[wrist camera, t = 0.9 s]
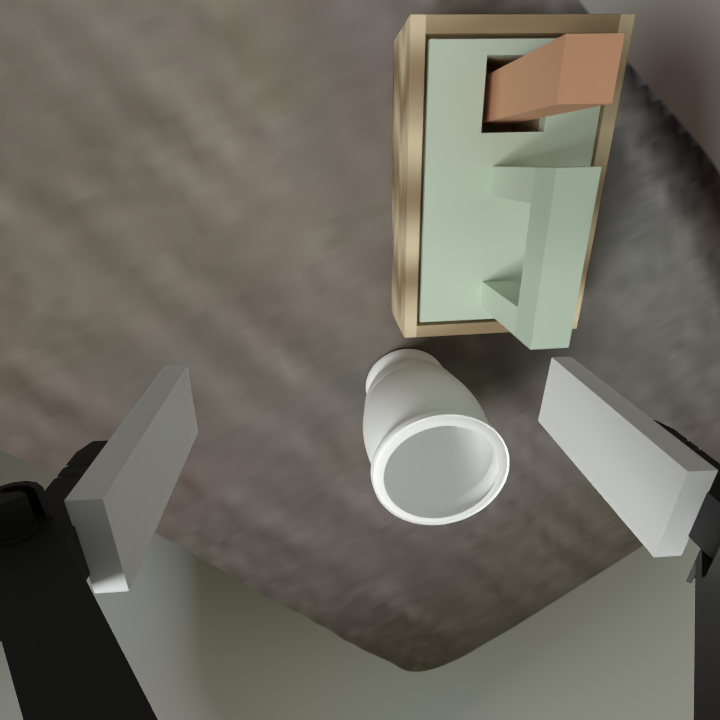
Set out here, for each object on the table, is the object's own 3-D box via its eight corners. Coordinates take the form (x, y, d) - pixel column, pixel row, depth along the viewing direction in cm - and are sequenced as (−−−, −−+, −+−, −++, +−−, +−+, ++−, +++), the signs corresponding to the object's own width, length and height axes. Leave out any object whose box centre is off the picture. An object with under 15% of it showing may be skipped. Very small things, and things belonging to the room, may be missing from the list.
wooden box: (393, 42, 34) (410, 14, 28) (578, 40, 36) (635, 14, 29) (391, 312, 43) (404, 337, 37) (539, 304, 44) (576, 328, 38)
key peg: (469, 83, 35) (565, 33, 22) (506, 83, 35) (624, 33, 22) (467, 126, 36) (556, 104, 23) (502, 125, 37) (612, 103, 23)
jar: (467, 348, 46) (531, 427, 32) (437, 431, 50) (483, 533, 36) (368, 329, 44) (391, 403, 30) (345, 417, 48) (357, 518, 34)
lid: (426, 43, 30) (478, -15, 20) (603, 41, 30) (734, -14, 21) (417, 318, 38) (451, 371, 28) (558, 311, 38) (638, 360, 29)
